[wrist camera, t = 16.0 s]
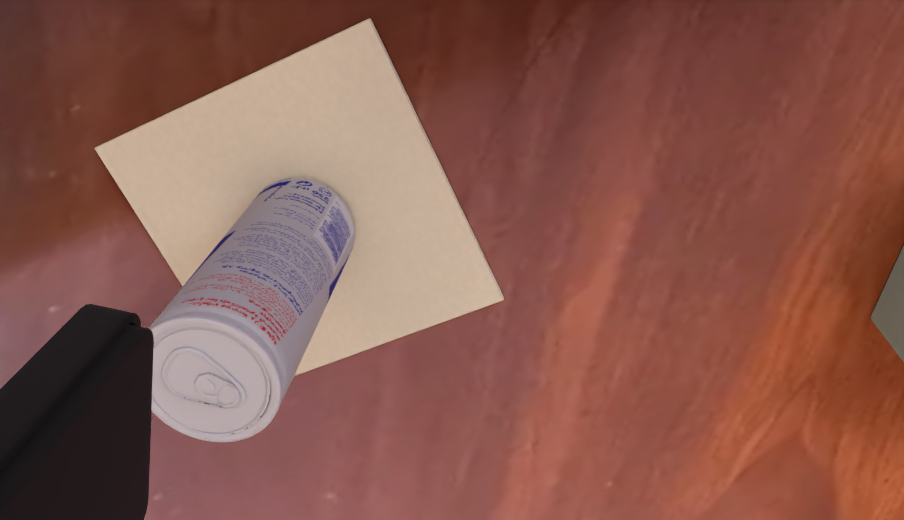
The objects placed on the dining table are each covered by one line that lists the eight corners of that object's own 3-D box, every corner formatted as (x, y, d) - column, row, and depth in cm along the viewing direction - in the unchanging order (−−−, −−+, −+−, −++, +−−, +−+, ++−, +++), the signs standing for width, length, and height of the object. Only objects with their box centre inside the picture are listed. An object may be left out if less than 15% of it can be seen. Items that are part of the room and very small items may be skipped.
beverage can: (241, 178, 43) (109, 320, 30) (348, 170, 42) (263, 312, 29) (262, 276, 45) (150, 449, 32) (364, 270, 45) (293, 445, 31)
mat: (97, 146, 43) (93, 148, 43) (370, 17, 40) (369, 18, 39) (251, 388, 49) (249, 392, 49) (504, 296, 45) (504, 300, 45)
